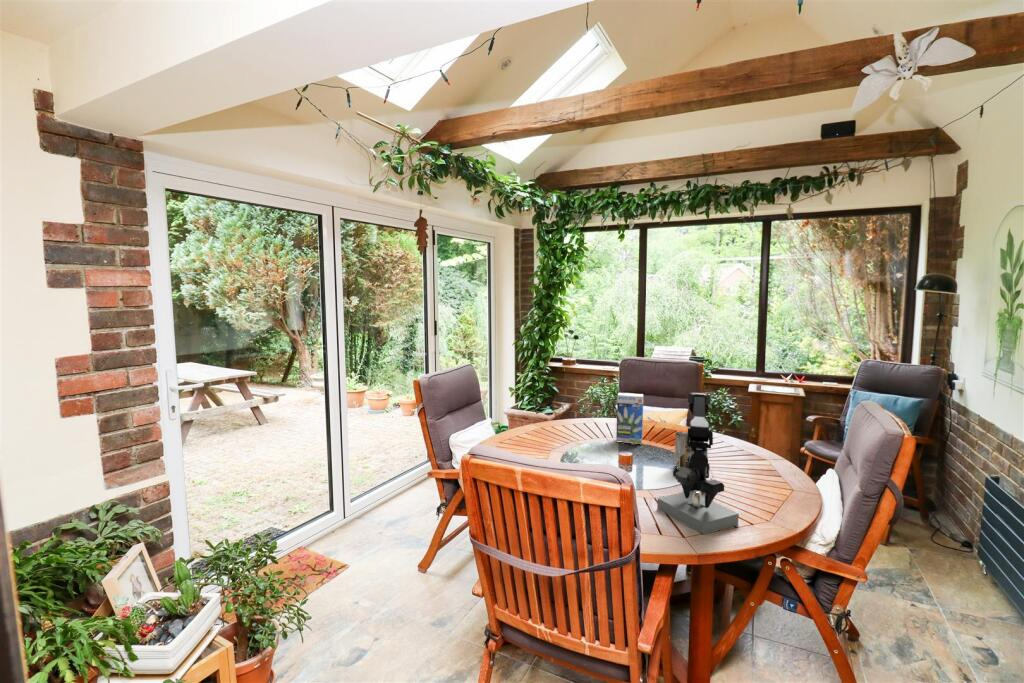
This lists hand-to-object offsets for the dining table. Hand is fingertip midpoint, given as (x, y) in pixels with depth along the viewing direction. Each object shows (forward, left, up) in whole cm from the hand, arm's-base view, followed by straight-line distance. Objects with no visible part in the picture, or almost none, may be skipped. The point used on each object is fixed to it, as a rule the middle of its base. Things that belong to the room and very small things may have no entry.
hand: (696, 502), depth 177 cm
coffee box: (-38, +33, -5) cm, 51 cm away
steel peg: (0, 0, -5) cm, 5 cm away
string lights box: (-81, +35, -5) cm, 88 cm away
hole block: (0, 0, -5) cm, 5 cm away
